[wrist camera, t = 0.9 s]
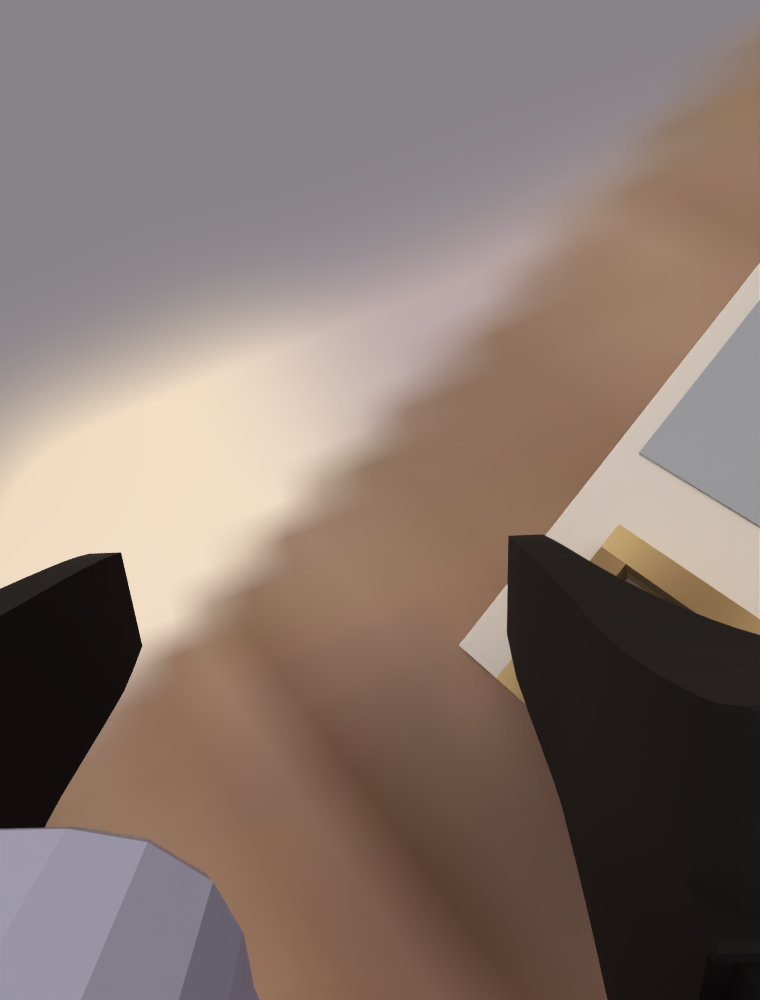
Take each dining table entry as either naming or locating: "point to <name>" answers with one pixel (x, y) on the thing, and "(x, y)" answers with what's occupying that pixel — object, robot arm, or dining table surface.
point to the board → (677, 475)
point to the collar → (657, 587)
